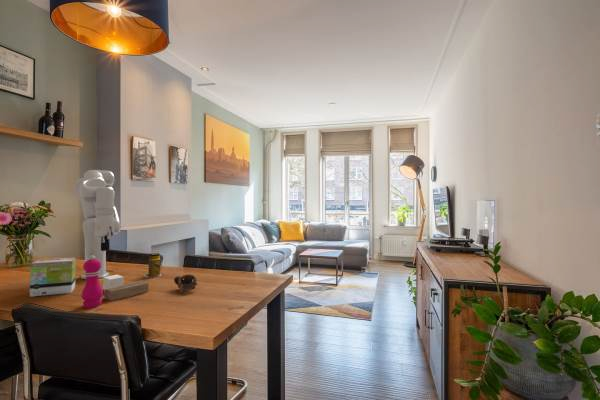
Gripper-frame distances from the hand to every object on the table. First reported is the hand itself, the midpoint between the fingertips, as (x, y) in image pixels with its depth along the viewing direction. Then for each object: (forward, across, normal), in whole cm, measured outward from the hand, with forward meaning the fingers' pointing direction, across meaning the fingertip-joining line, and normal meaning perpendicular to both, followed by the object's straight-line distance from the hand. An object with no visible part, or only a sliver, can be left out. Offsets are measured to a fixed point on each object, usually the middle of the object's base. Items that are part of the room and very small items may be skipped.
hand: (105, 250), depth 152 cm
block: (+18, +8, 0) cm, 20 cm away
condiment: (+18, -3, +25) cm, 31 cm away
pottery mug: (+18, +35, +20) cm, 45 cm away
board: (+18, +21, 0) cm, 28 cm away
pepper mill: (+18, +24, -15) cm, 34 cm away
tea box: (+18, -9, -18) cm, 27 cm away
